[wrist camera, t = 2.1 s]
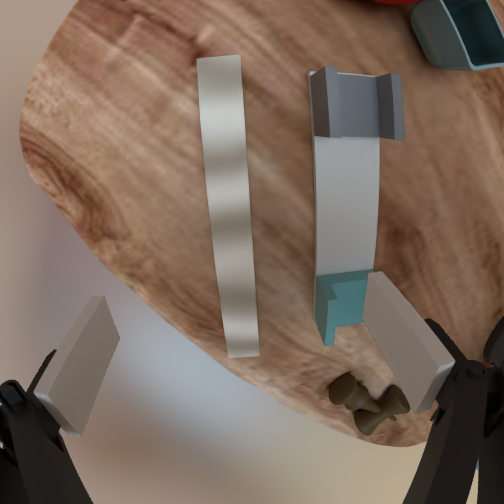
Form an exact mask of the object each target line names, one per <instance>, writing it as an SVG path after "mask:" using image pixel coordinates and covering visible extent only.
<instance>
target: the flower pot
mask: <svg viewBox="0 0 504 504" xmlns="http://www.w3.org/2000/svg"><path fill="white" fill-rule="evenodd" d="M411 26H412V28H413V30H414V32H415V34H416V36H417V38H418V40H419V43H420V45H421V47H422V49H423V52H424V54H425V56H426V58H427V60H428V61H429V62H430V63H432V64H433V65H434V66H436V67H438V68H441V69H444V70H471V71H476V70H481V69H486V68H492V67H500V66H504V34H503V32H502V30H501V27H500V25H499V23H498V21H497V18H496V16H495V14H494V12H493V10H492V8H491V6H490V4H489V2H488V0H424V1H421V2H417V3H416V4H415V5H414V7H413V9H412V11H411Z"/></svg>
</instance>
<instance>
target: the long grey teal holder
mask: <svg viewBox="0 0 504 504" xmlns="http://www.w3.org/2000/svg"><path fill="white" fill-rule="evenodd" d="M307 79H308V90H309V102H310V116H311V132H312V151H313V177H314V297H313V320H314V322H316V324H317V327H318V329H319V332H320V335H321V337H322V340H323V343H324V345H325V346H329V345H334V337H335V328H336V327H337V326H343V325H349V324H355V323H361V322H364V321H363V319H362V315H363V308H364V302H365V295H366V289H367V281H368V273H372V272H375V271H374V270H373V266H374V256H375V246H376V234H377V220H378V202H379V137H380V138H387V139H394V140H404V116H403V98H402V85H401V75H400V74H394V73H389V74H386V75H382V76H379V77H376V76H369V75H360V74H348V73H337V67H328V66H325V67H323V68H322V69H320V70H319V71H317V72H308V73H307Z"/></svg>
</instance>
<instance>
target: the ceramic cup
mask: <svg viewBox="0 0 504 504" xmlns="http://www.w3.org/2000/svg"><path fill="white" fill-rule="evenodd" d="M372 1H376V2H380V3H386V4H411V3H417V2H421V1H424V0H372Z"/></svg>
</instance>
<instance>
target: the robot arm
mask: <svg viewBox="0 0 504 504" xmlns="http://www.w3.org/2000/svg"><path fill="white" fill-rule="evenodd" d="M362 319H363V321H364V322H365V324H366V326H367V327H368V329H369V331H370V333H371V334H372V336H373V338H374V339H375V341H376V343H377V345H378V346H379V348H380V350H381V352H382V353H383V355H384V357H385V359H386V361H387V362H388V364H389V366H390V368H391V370H392V371H393V373H394V375H395V377H396V379H397V381H398V383H399V384H400V386H401V388H402V390H403V392H404V394H405V396H406V398H407V400H408V401H409V403H410V405H411V407H412V409H413V411H414V413H415V414H416V413H419V412H421V411H424V410H427V409H429V408H431V406H432V404H433V402H434V401H435V399H436V401H437V402H438V404H439V406H438V408H437V409H436V411H435V413H434V414H433V416H432V417H431V419H430V421H432V420H433V419H434V421H433V424H432V428H431V431H430V434H429V437H428V440H427V444H426V447H425V450H424V453H423V455H422V458H421V461H420V463H419V466H418V469H417V471H416V474H415V476H414V479H413V481H412V483H411V486H410V488H409V490H408V493H407V495H406V497H405V499H404V501H403V503H402V504H466V502H467V499H468V495H469V492H470V489H471V485H472V481H473V478H474V474H475V469H477V470H478V471H479V474H478V497H477V504H504V318H503V319H502V320H501V321H500V322H499V324H498V325H497V327H496V328H495V329H494V331H493V333H492V334H491V336H490V338H489V340H488V342H487V344H486V347H485V350H484V358H485V359H486V361H487V362H488V363H489V364H490V365H491V366H493V367H492V368H486V367H485V366H484V365H483V364H482V363H480V362H478V361H475V360H467V359H466V357H465V356H464V355H463V353H462V352H461V351H460V350H459V348H458V347H457V346H456V345H455V343H454V342H453V341H452V340H451V339H450V337H449V336H448V335H447V333H445V331H444V330H443V329H442V327H441V326H440V325H439V324H438V323H436V322H435V321H433V320H432V319H430V318H428V319H424V320H423V319H422V317H421V316H420V315H419V314H418V312H417V311H416V310H415V309H414V308H413V306H412V305H411V304H410V303H409V302H408V301H407V299H406V298H405V297H404V296H403V295H402V294H401V292H400V291H399V290H398V289H397V288H396V287H395V285H394V284H393V283H392V282H391V281H390V280H389V279H388V277H387V276H386V275H385V274H384V273H383V272H382V271H380V272H372V273H368V281H367V289H366V295H365V302H364V308H363V315H362ZM119 340H120V336H119V334H118V331H117V329H116V326H115V324H114V321H113V319H112V316H111V313H110V310H109V308H108V305H107V302H106V300H105V297H104V296H92V297H91V298H90V300H89V301H88V303H87V304H86V306H85V307H84V309H83V310H82V312H81V313H80V315H79V316H78V318H77V319H76V321H75V322H74V324H73V325H72V327H71V328H70V330H69V332H68V333H67V335H66V337H65V338H64V340H63V341H62V343H61V344H60V346H59V348H58V349H57V350H53V351H52V352H51V353H50V354H49V355H48V356H47V357H46V359H45V360H44V362H43V364H42V366H41V367H40V369H39V370H38V372H37V374H36V375H35V377H34V379H33V381H32V383H31V384H30V386H29V388H28V390H27V392H25V391H24V389H23V388H22V387H21V385H20V384H19V382H17V381H16V380H8V381H6V382H4V383H2V384H1V386H0V402H1V403H2V405H0V442H1V443H3V449H2V448H1V447H0V504H93V502H92V501H91V498H90V497H89V495H88V493H87V491H86V489H85V487H84V485H83V483H82V481H81V479H80V477H79V476H78V473H77V471H76V469H75V467H74V465H73V462H72V460H71V458H70V456H69V453H68V451H67V448H66V446H65V443H64V441H63V438H62V436H61V435H60V433H59V429H60V427H61V428H62V429H63V430H64V431H65V432H66V433H67V434H68V435H72V436H78V437H82V435H83V432H84V429H85V426H86V424H87V420H88V418H89V415H90V412H91V409H92V407H93V404H94V401H95V398H96V396H97V393H98V391H99V388H100V386H101V383H102V381H103V378H104V375H105V373H106V370H107V368H108V365H109V363H110V360H111V358H112V356H113V354H114V351H115V349H116V347H117V344H118V342H119Z"/></svg>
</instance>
